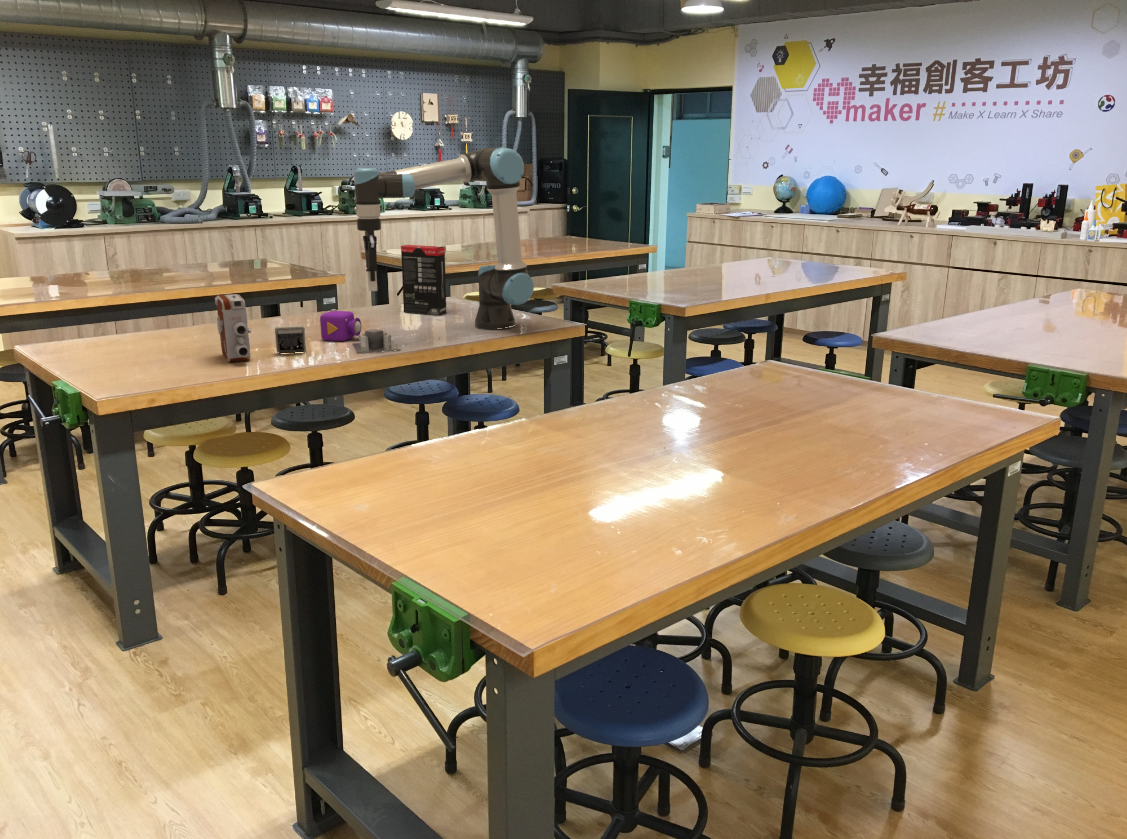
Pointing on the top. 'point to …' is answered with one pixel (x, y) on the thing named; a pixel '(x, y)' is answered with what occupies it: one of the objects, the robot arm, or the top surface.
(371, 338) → the dark grey cylinder
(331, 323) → the toy camera
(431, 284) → the graphics card box
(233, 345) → the cine camera
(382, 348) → the grey square plate
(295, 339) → the electrical switch
